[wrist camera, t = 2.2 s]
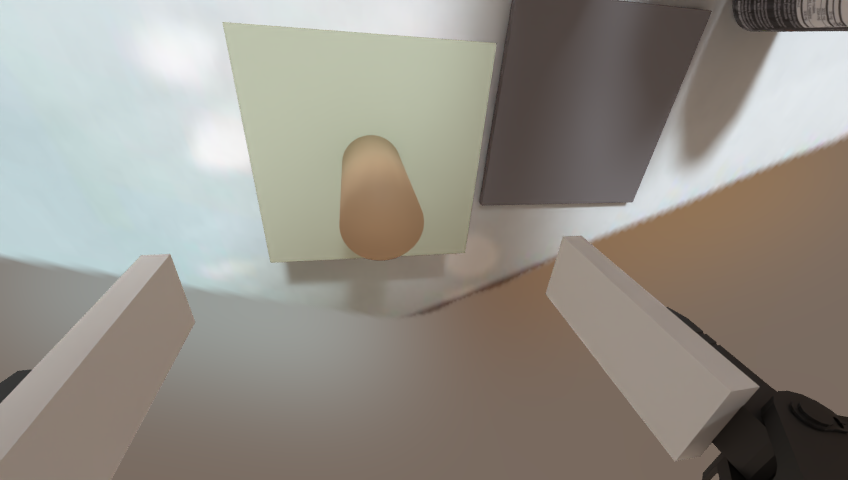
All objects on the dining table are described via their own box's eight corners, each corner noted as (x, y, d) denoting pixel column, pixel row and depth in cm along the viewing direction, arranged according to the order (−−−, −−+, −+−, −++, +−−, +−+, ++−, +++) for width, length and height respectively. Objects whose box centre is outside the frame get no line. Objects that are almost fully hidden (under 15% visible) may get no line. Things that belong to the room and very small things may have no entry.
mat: (513, -10, 22) (517, -11, 21) (704, 11, 25) (711, 10, 24) (479, 202, 30) (481, 205, 29) (628, 199, 33) (632, 202, 32)
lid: (227, 22, 17) (134, 15, 10) (491, 42, 20) (577, 49, 12) (272, 256, 24) (239, 355, 17) (462, 247, 27) (505, 329, 19)
